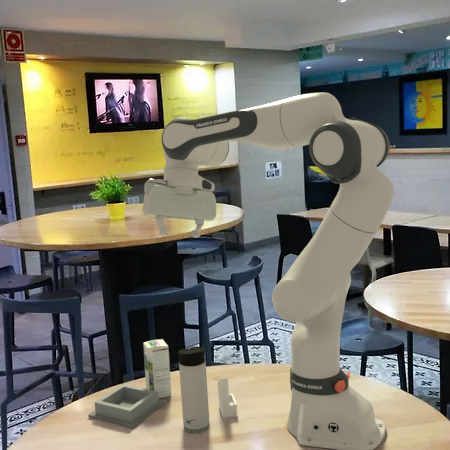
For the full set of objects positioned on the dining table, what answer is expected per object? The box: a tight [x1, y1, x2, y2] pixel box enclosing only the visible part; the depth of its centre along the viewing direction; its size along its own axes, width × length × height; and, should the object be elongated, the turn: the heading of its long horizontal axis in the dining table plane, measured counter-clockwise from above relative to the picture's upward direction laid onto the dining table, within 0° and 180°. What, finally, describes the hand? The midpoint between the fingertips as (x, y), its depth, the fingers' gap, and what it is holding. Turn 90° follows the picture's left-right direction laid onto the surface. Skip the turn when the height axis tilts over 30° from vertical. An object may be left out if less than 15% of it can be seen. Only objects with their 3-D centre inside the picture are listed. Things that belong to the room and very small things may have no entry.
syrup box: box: [143, 338, 172, 400], centre depth 159 cm, size 6×6×14 cm
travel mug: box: [178, 346, 211, 434], centre depth 140 cm, size 6×7×20 cm
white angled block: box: [217, 378, 238, 419], centre depth 147 cm, size 4×10×9 cm, turn 9°
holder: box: [87, 383, 167, 430], centre depth 151 cm, size 14×14×4 cm
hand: (180, 236), depth 150 cm, fingers open, 8 cm apart
